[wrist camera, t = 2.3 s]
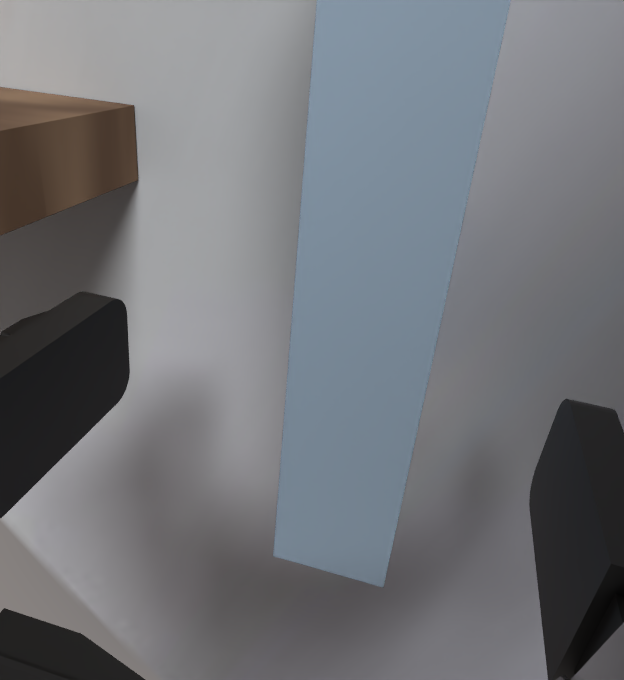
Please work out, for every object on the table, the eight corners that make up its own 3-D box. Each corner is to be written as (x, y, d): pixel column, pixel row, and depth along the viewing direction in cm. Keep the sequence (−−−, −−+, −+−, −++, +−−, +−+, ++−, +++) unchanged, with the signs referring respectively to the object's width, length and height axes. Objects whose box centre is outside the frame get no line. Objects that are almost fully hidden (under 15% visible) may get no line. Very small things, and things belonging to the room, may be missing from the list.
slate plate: (456, -318, 11) (393, -977, 4) (572, -320, 10) (739, -1055, 3) (359, 350, 17) (273, 556, 10) (427, 364, 17) (383, 587, 10)
